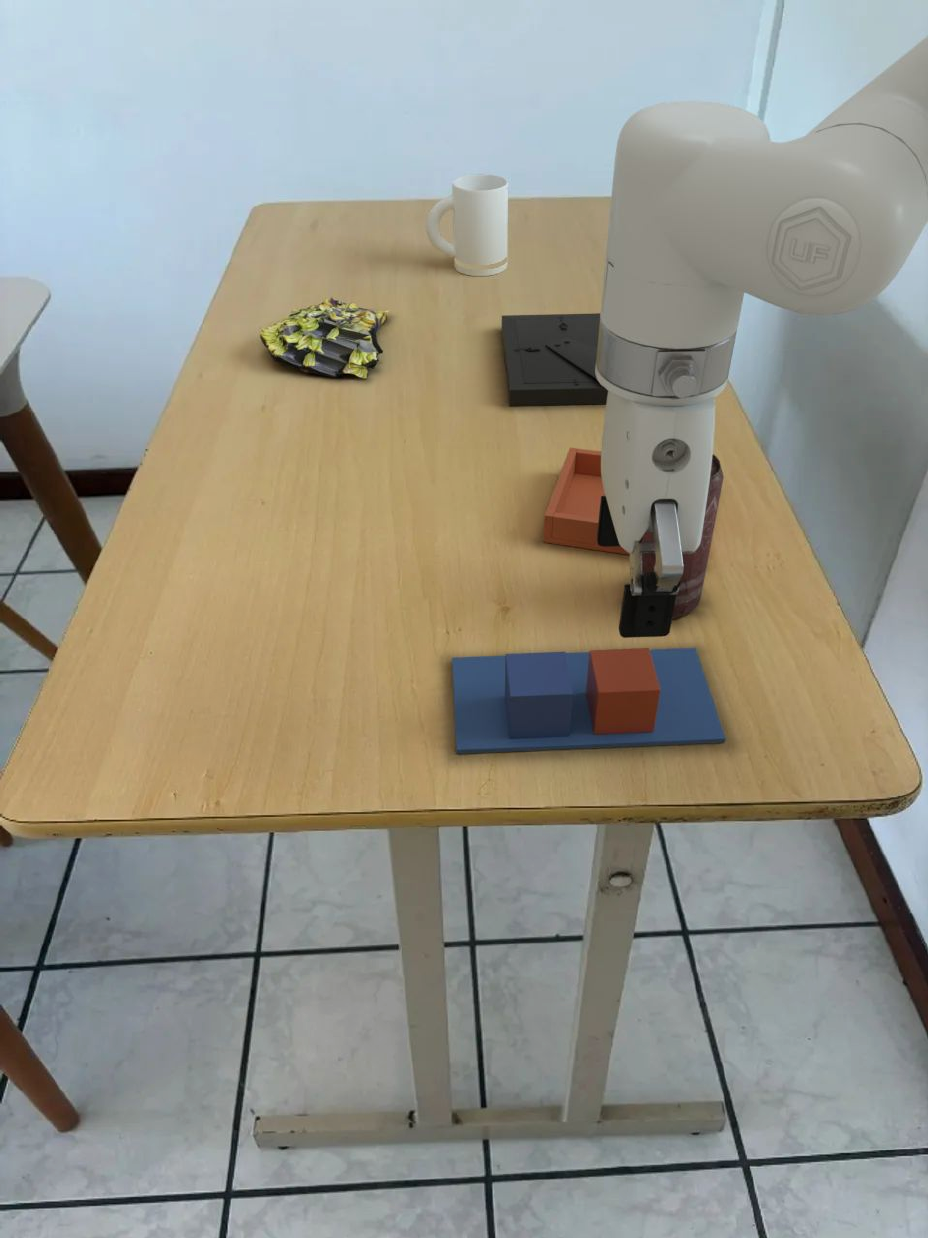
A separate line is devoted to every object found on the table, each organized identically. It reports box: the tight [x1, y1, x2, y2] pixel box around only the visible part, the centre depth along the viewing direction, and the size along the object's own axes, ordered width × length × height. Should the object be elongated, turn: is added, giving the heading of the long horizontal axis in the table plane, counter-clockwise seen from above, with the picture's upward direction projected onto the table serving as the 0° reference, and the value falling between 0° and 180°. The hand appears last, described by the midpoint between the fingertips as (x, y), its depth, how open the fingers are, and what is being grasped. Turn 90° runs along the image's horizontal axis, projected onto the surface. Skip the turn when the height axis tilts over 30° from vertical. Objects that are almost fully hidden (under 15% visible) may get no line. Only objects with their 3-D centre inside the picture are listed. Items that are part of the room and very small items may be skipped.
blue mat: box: [451, 647, 727, 755], centre depth 75 cm, size 20×10×1 cm, turn 92°
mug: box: [425, 173, 509, 277], centre depth 140 cm, size 8×12×12 cm
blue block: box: [505, 651, 573, 739], centre depth 71 cm, size 4×4×4 cm
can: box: [641, 453, 724, 620], centre depth 80 cm, size 6×6×14 cm
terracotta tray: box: [542, 447, 630, 556], centre depth 93 cm, size 15×13×3 cm
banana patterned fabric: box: [259, 296, 390, 379], centre depth 124 cm, size 20×16×7 cm
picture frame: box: [501, 312, 608, 407], centre depth 118 cm, size 16×3×21 cm
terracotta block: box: [586, 647, 660, 735], centre depth 72 cm, size 4×4×4 cm
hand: (630, 586), depth 65 cm, fingers open, 9 cm apart
